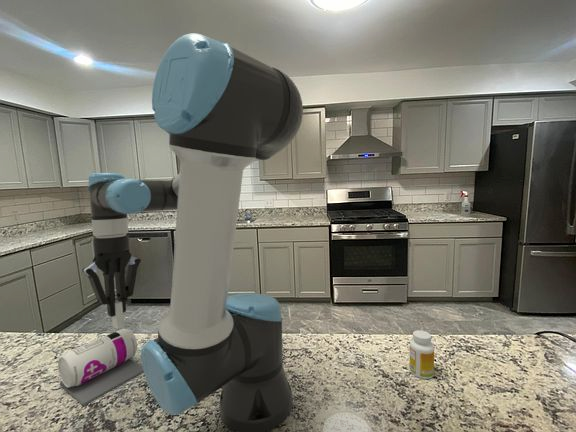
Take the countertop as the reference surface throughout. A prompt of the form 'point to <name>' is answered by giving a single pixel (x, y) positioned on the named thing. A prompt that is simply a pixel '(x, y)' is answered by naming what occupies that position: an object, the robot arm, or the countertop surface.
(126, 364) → the mat
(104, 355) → the supplement can
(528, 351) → the countertop surface
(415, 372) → the supplement bottle
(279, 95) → the robot arm
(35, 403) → the countertop surface
